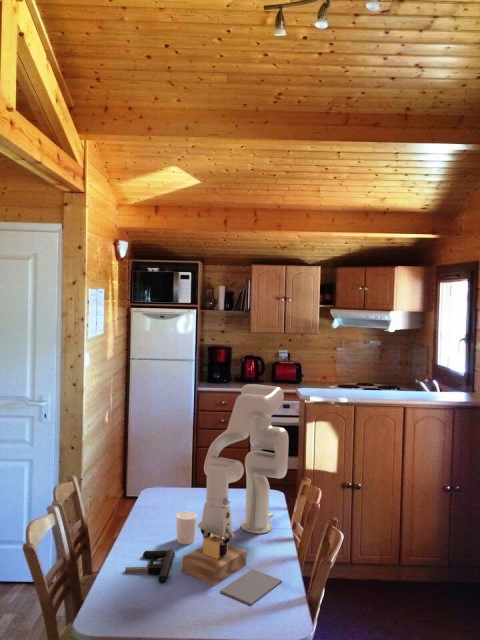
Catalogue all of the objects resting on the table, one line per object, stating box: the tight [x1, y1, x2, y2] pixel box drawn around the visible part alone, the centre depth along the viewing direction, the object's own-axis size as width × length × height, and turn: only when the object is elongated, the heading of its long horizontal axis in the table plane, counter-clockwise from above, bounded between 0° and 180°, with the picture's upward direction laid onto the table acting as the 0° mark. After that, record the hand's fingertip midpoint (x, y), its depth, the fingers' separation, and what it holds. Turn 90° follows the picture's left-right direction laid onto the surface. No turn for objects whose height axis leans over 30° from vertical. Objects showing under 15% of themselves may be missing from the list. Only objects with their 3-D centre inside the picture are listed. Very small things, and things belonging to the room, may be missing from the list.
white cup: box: [175, 510, 198, 545], centre depth 207 cm, size 8×8×10 cm
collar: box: [202, 534, 229, 559], centre depth 187 cm, size 6×6×5 cm
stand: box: [181, 540, 247, 586], centre depth 186 cm, size 18×14×10 cm
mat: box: [219, 568, 283, 606], centre depth 175 cm, size 18×12×1 cm, turn 144°
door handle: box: [124, 548, 177, 584], centre depth 185 cm, size 3×20×16 cm
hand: (215, 551), depth 187 cm, fingers closed on collar, 6 cm apart
